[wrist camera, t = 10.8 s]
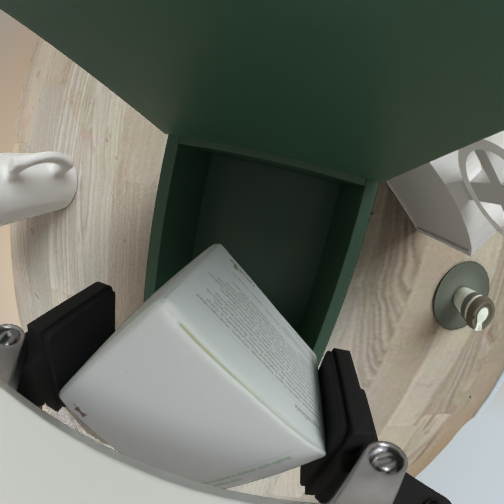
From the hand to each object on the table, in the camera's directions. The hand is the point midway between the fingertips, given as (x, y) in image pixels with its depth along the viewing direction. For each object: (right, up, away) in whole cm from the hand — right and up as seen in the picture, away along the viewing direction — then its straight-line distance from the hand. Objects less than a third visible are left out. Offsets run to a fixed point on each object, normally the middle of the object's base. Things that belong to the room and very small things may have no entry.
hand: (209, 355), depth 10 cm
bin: (+2, +4, +16) cm, 17 cm away
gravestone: (+15, +10, +13) cm, 22 cm away
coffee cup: (+23, -1, +15) cm, 28 cm away
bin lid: (+2, +8, -3) cm, 9 cm away
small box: (0, 0, +1) cm, 1 cm away
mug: (-19, +12, +17) cm, 28 cm away
